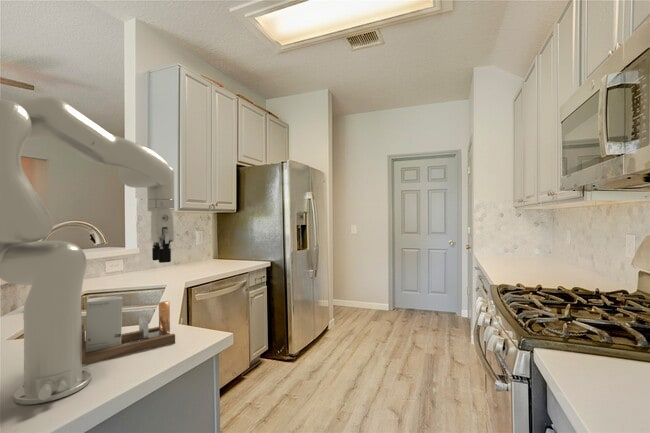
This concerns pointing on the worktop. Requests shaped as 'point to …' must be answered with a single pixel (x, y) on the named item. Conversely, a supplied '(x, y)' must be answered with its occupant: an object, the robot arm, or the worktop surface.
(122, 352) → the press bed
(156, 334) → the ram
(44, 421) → the worktop surface
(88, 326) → the skincare box
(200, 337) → the worktop surface
